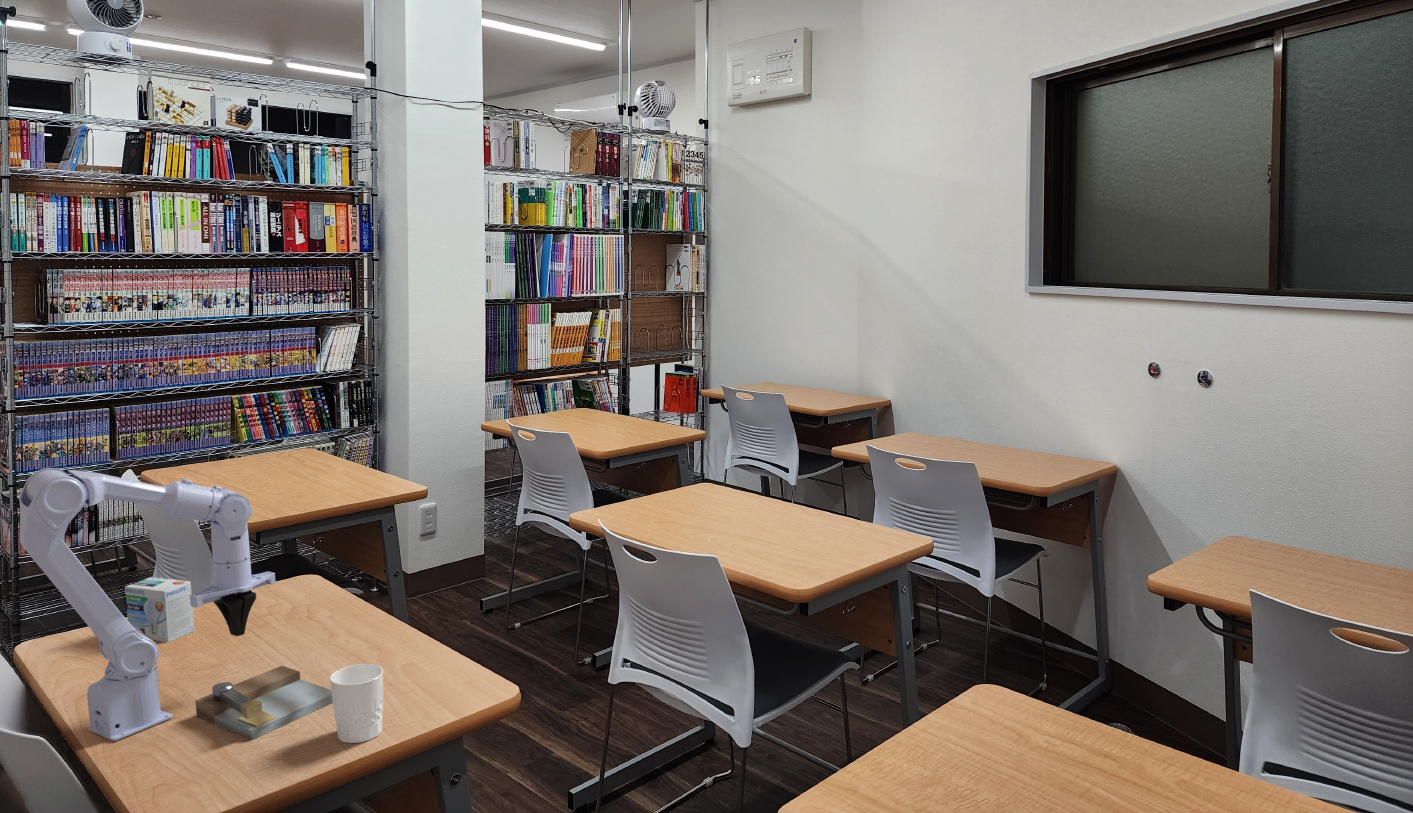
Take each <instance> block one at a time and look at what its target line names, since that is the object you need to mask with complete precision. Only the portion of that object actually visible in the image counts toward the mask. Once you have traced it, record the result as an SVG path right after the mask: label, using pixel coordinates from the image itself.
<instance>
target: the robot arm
mask: <svg viewBox="0 0 1413 813" xmlns="http://www.w3.org/2000/svg"><path fill="white" fill-rule="evenodd" d="M67 472H69V473H70V474H71V475H72V476H70V475H69V474H68V473H67ZM67 472H65V471H64V470H62V469H59V468H55V467H48V468H42V469H39V470H37V471H35V472H34V473H32V474H31V475H30V476H29V477H28V478H27V479H26V481H25V484H24V486H23V488H22V490H21V492H20V494H19V497H18V501H19V542H20V544H21V546H22V547H23V549H24V550H25V551H26V553H28V555H29V556H30V557H31V558H32V560H33V561H34V562H35V563H36V565H37V566H38V567H39V568H40V569H41V571H43V573H44V574H45V575H46V576H47V578H48V579H49V581H51V583H52V584H53V585H54V586H55V587H56V588H57V590H58V591H59V592H60V593H61V594H62V596H63V598H65V600H66V601H67V602H68V603H69V605H70V606H72V608H73V609H74V611H75V612H76V613H77V614H78V615H79V617H80V618H81V619H82V620H83V622H84V623H86V625H87V627H88V628H90V630H91V631H92V633H93V634H94V635H95V636H96V638H97V639H98V642H99V651H100V653H101V655H102V656H103V657H104V658H105V659H107V661H108V663H107V665H106V667H105V669H104V676H103V677H101V679H99V680H98V681H96V682H94V683H92V684H90V685H89V686H88V688H87V693H86V695H87V696H86V697H87V698H86V699H87V705H88V706H87V707H88V709H87V710H88V717H89V726H88V727H87V730H88V731H90V732H93V733H94V734H96V735H99V736H101V737H103V738H105V739H108V740H110V741H112V742H116V741H119V740H121V739H124V738H127V737H128V736H132V735H133V734H136V733H138V732H141V731H143V730H146V729H149V728H151V727H154V726H156V725H158V724H161V723H163V722H165V721H167V720H170V719H172V718H174V715H173V713H170V712H168V711H165V710H163V709H162V708H161V699H160V688H159V678H158V677H159V676H158V667H157V663H158V660H159V656H160V650H159V647H158V645H157V643H156V642H155V640H151V639H149V638H147V637H146V636H145V635H144V634H143V633H142V631H141V630H140V629H139V628H138V627H137V626H135V625H132V624H130V623H129V622H128V618H126V617H125V616H124V615H123V613H122V612H121V611H120V610H119V608H118V607H117V606H116V605H115V603H114V602H113V601H112V599H110V598H109V596H108V595H107V594H106V593H105V591H104V590H103V588H102V587H101V586H100V584H98V582H97V581H96V580H95V579H94V578H93V575H91V573H90V572H89V571H88V570H87V569H86V567H85V566H84V564H82V562H81V561H80V559H78V557H77V555H76V554H75V553H74V552H73V551H72V550H71V549H70V547H69V546H68V545H67V543H66V542H65V541H64V537H65V534H66V532H67V529H68V526H69V523H70V522H71V521H72V520H73V519H74V518H75V517H76V515H77V514H78V513H79V512H80V511H81V509H83V507H84V505H86V506H88V507H92V506H95V505H97V504H99V503H101V502H103V501H106V500H114V501H120V502H121V501H122V502H130V503H137V504H143V505H144V504H145V505H151V506H158V507H159V509H160V510H161V512H162V514H163V515H165V516H169V517H176V518H177V517H178V518H182V519H187V520H195V521H200V522H207V521H210V531H211V536H210V537H211V538H210V539H211V550H212V551H211V552H212V553H211V554H212V563H213V577H214V584H212V585H210V586H208V587H206V588H203V589H202V590H199V591H197V592H195V593H192V594H191V595H190V606H192V607H194V608H196V609H197V608H201V607H203V606H204V605H205V604H209V603H212V602H213V603H214V605H215V606H216V607H217V608H218V610H219V611H220V613H221V614H222V616H223V618H224V620H225V623H226V625H227V628H228V630H229V633H230V635H231V636H234V637H240V636H243V635H245V633H246V626H247V621H248V618H249V614H250V612H251V609H252V608H253V605H254V603H255V601H256V600H257V592H254V591H252V590H253V589H257V588H260V587H263V586H267V585H270V586H271V585H274V584H276V575H275V574H276V573H275V572H272V571H265V572H261V573H257V574H252V566H251V564H252V563H251V551H250V539H249V538H250V537H249V530H248V528H249V527H248V521H249V520H250V518H251V516H252V515H253V507H252V506H251V505H250V501H249V500H248V498H246V497H245V496H244V495H243V494H240V493H238V492H235V491H234V490H230V489H227V488H225V487H221V486H219V485H213V486H212V487H209V486H205V485H199V484H195V483H194V482H193V480H192V479H188V478H182V479H181V481H177V480H173V481H171V482H169V483H167V484H166V485H163V486H160V485H156V484H152V483H147V482H144V481H137V480H132V479H127V478H122V477H119V476H113V475H108V474H104V473H99V472H91V471H83V470H76V469H75V470H74V469H67ZM193 483H194V484H193Z"/></svg>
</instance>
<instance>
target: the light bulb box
mask: <svg viewBox="0 0 1413 813" xmlns="http://www.w3.org/2000/svg"><path fill="white" fill-rule="evenodd" d="M191 584H192V583H191V581H190V580H180V579H173V578H172V579H171V578H162V577H154V576H151V577H147V578H145V579H142V580H139V581H137V582H134V583H131V584H129V585H126V586H124V591H125V592H124V593H125V603H126V616H127V618H126V619H127V621H128V622H129V623H130V624H132V625H135V626H137V627H138V628H139V629H140V630H141V631H142V633H143V634H144V635H145V636H146V637H147V638H149V639H151V640H152V641H157V642H164V643H171V642H172V641H175V640H177V639H180V638H181V637H184V636H187V635H188V634H191V633H193V632H195V624H194V623H195V621H194V609H193V606H190V595H191V594H193V593H192V585H191Z"/></svg>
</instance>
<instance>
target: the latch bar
mask: <svg viewBox="0 0 1413 813" xmlns="http://www.w3.org/2000/svg"><path fill="white" fill-rule="evenodd" d="M233 685H234V684H233V683H232V682H230V681H229V682H228V681H225V682H220V683H216V684H214V685H213V686H212V689H211V690H212V691H211V692H212V693H213V699H214V700H221V701H223V702H224V703H226V704H227V705H229V706H230V707H232V708H233V709H235V710H236V711H238V712H239V713H241V714H242V716H243V717H244V718H246V719H247V720H248V719H250V718H253V717H256V716H259V715H261V714H263V713H262V702H261V701H259V700H257V699H254V700H251V699H249V698H248V697H246V696H244V695H243V694H241V693H240V692H238V691H236V690H235V689H233Z"/></svg>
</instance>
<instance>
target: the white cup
mask: <svg viewBox="0 0 1413 813" xmlns="http://www.w3.org/2000/svg"><path fill="white" fill-rule="evenodd" d="M329 681H330V690H331V692H332V701H333V703H332V708H333V715H334V721H335V723H336V733H337V739H338V740H340V741H341V742H343V743H345V744H346V743H347V744H357V743H358V744H360V743H363V742H364V743H365V742H367V741H371V740H373V739H374V738H377V737H379V735H381V733H382V732H383V715H384V669H383V668H382V666H379V665H377V664H372V663H359V664H354V665H353V664H351V665H348V666H344V667H342V668H340V669H337V670H336V671H334V672H332V674H331V675H330V677H329Z"/></svg>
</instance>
